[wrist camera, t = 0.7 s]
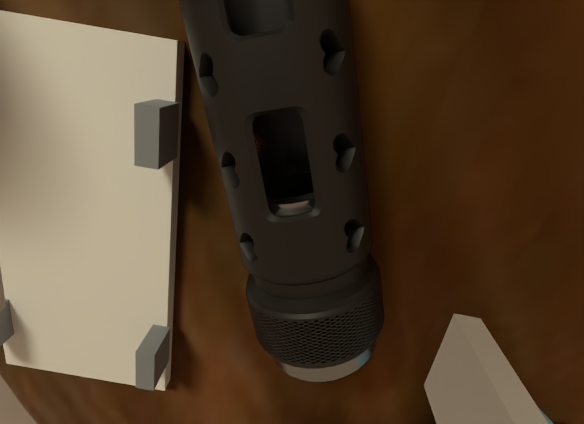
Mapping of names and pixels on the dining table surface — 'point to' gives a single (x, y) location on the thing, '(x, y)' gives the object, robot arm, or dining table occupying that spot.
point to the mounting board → (89, 198)
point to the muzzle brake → (293, 174)
